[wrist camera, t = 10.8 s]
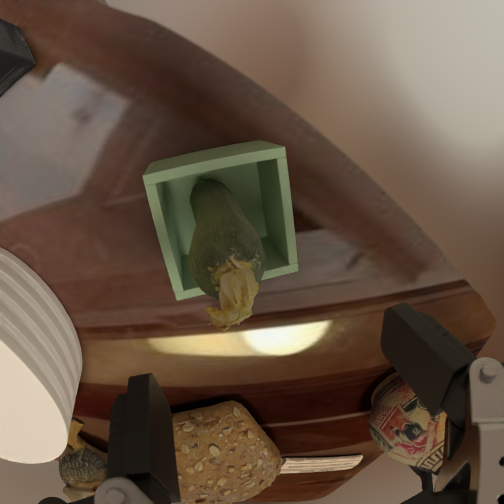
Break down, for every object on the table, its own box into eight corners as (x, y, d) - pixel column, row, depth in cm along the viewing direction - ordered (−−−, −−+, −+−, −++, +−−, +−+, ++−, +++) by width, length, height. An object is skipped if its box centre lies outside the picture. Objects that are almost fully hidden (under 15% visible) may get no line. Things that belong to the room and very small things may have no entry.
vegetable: (237, 186, 30) (325, 310, 13) (214, 223, 31) (267, 379, 14) (197, 163, 28) (234, 268, 11) (174, 203, 29) (178, 353, 12)
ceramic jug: (400, 346, 47) (507, 474, 21) (431, 367, 54) (515, 467, 27) (332, 412, 50) (405, 547, 24) (374, 423, 57) (439, 528, 30)
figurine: (137, 438, 43) (140, 517, 30) (114, 469, 46) (115, 534, 33) (56, 409, 37) (41, 490, 24) (46, 446, 40) (37, 512, 27)
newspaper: (361, 453, 63) (364, 458, 61) (343, 468, 65) (346, 473, 63) (285, 455, 54) (287, 462, 52) (267, 471, 56) (269, 478, 54)
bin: (150, 162, 28) (142, 175, 21) (259, 139, 29) (285, 146, 23) (175, 262, 32) (176, 300, 26) (273, 239, 34) (298, 271, 27)
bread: (282, 447, 52) (302, 498, 41) (183, 477, 51) (190, 526, 40) (240, 376, 41) (262, 447, 30) (111, 417, 40) (107, 483, 29)
